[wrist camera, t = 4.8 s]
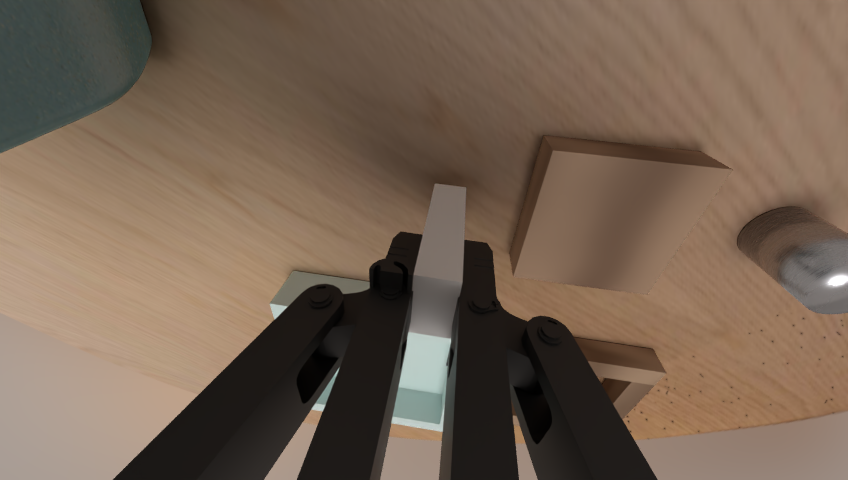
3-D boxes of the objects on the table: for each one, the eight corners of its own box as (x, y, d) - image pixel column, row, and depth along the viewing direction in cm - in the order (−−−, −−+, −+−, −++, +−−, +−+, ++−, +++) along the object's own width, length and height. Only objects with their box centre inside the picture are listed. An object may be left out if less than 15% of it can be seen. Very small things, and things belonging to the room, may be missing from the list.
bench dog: (724, 252, 17) (784, 308, 13) (764, 203, 15) (844, 254, 12) (783, 260, 16) (859, 319, 13) (831, 211, 15) (932, 265, 11)
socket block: (482, 398, 28) (483, 419, 27) (508, 327, 22) (511, 349, 21) (595, 417, 27) (602, 439, 26) (653, 349, 22) (666, 373, 20)
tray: (316, 374, 29) (302, 407, 27) (293, 270, 22) (269, 303, 19) (454, 397, 28) (452, 433, 26) (480, 297, 21) (481, 336, 18)
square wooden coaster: (508, 249, 19) (513, 276, 17) (542, 132, 15) (553, 150, 13) (628, 264, 18) (647, 294, 16) (696, 148, 14) (733, 169, 12)
